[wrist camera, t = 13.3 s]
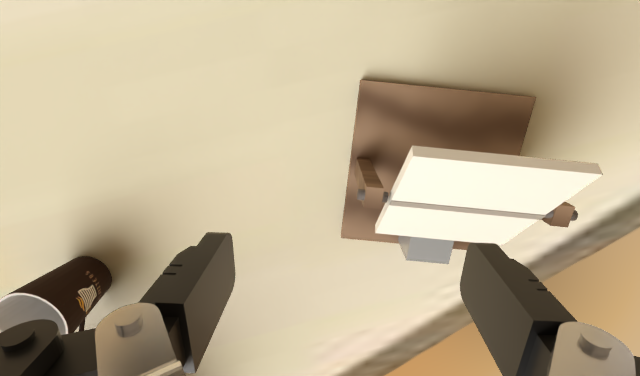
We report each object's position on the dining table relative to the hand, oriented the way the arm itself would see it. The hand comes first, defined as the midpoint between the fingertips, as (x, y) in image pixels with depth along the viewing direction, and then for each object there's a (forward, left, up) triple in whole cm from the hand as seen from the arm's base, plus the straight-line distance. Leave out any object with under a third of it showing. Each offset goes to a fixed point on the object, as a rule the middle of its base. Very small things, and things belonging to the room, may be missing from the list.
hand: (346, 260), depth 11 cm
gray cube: (+9, +12, -27) cm, 31 cm away
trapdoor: (+4, +12, -19) cm, 23 cm away
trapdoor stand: (+4, +12, -31) cm, 33 cm away
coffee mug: (+26, -34, -31) cm, 53 cm away
